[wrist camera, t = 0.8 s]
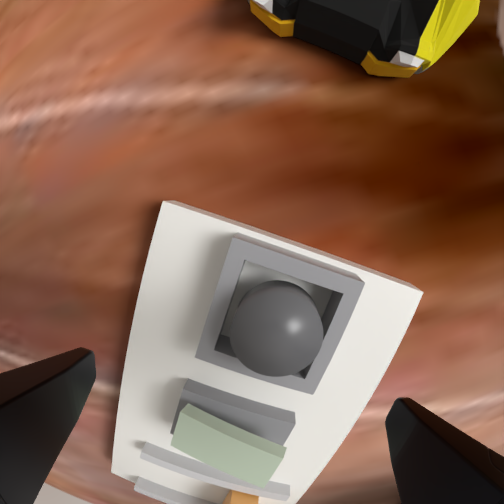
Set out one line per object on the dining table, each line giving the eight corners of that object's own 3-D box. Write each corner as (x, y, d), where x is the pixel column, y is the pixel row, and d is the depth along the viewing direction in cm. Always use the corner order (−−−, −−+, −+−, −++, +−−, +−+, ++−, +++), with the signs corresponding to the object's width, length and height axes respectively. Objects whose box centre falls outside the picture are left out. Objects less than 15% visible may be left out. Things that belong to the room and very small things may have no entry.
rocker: (286, 447, 15) (283, 458, 14) (267, 477, 16) (263, 488, 15) (188, 403, 16) (180, 411, 15) (177, 436, 17) (170, 445, 16)
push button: (330, 295, 15) (338, 309, 13) (300, 365, 16) (302, 386, 14) (250, 268, 15) (246, 279, 13) (225, 341, 16) (218, 360, 14)
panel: (410, 283, 18) (438, 303, 14) (277, 508, 22) (276, 541, 18) (174, 200, 18) (148, 201, 14) (119, 458, 22) (102, 487, 18)
